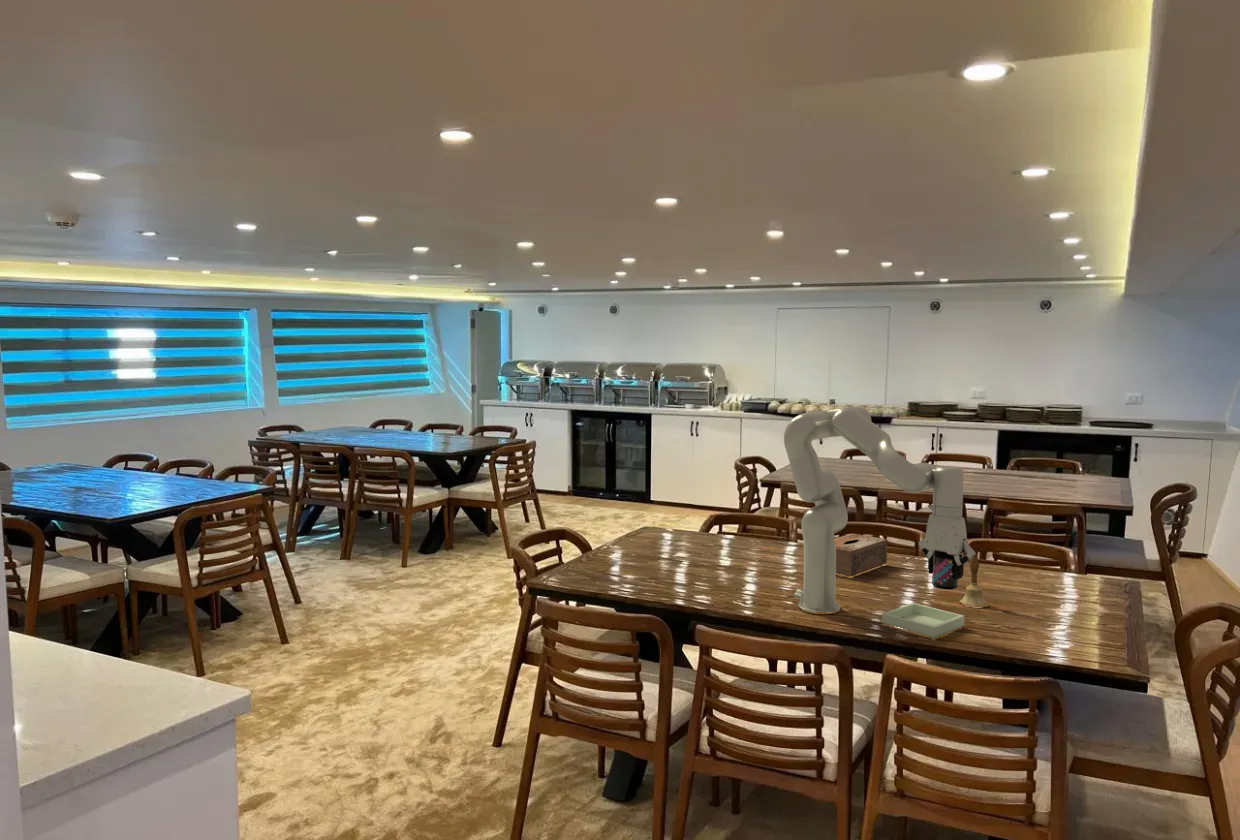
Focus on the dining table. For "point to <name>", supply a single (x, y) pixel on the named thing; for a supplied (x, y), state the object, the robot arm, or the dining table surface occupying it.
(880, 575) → the dining table surface
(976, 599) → the hand bell
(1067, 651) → the dining table surface
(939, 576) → the supplement container
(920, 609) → the tray
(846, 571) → the tissue box cover
